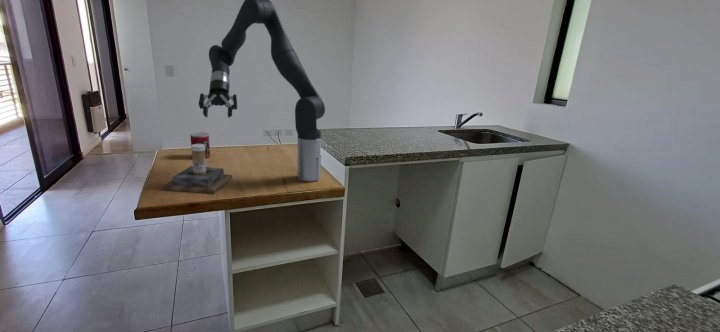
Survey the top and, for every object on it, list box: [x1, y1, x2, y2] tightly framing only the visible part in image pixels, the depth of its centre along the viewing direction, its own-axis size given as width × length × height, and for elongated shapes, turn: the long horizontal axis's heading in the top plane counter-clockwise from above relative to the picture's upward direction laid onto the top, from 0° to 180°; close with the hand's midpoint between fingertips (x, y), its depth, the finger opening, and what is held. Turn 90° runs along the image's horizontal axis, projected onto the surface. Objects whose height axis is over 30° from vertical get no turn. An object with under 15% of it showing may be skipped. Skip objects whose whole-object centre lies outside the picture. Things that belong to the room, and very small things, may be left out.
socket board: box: [162, 165, 234, 194], centre depth 124 cm, size 18×16×4 cm
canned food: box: [189, 131, 211, 159], centre depth 155 cm, size 8×8×11 cm
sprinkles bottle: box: [190, 144, 207, 176], centre depth 123 cm, size 5×5×14 cm
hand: (217, 116), depth 132 cm, fingers open, 8 cm apart
